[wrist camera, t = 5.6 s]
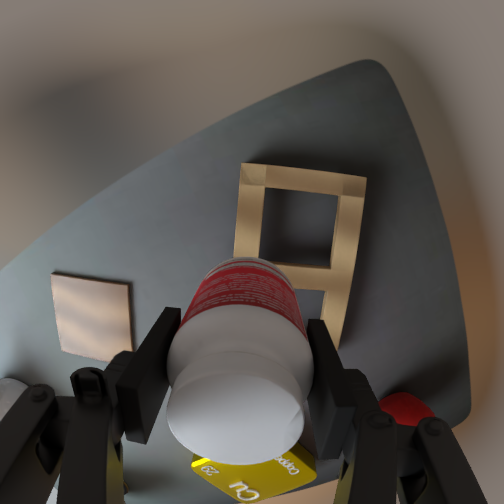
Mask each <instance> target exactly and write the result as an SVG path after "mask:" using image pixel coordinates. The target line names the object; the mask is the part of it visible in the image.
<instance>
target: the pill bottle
mask: <svg viewBox="0 0 504 504" xmlns="http://www.w3.org/2000/svg"><path fill="white" fill-rule="evenodd" d="M167 375H168V380H169V383H170V386H171V388H172V391H171V394H170V398H169V401H168V405H167V421H168V424H169V427H170V429H171V431H172V433H173V434H174V436H175V437H176V438H177V440H178V441H179V442H180V443H181V444H182V445H184V446H185V447H186V448H187V449H189V450H190V451H192V452H193V453H195V454H197V455H199V456H201V457H204V458H206V459H209V460H212V461H215V462H219V463H225V464H232V465H249V464H257V463H262V462H266V461H269V460H272V459H274V458H277V457H279V456H281V455H282V454H284V453H285V452H287V451H288V450H289V449H290V448H292V447H293V446H294V445H295V444H296V442H297V441H298V440H299V438H300V436H301V434H302V432H303V429H304V424H305V414H304V406H303V403H304V401H305V400H306V398H307V396H308V395H309V392H310V390H311V387H312V384H313V378H314V362H313V355H312V351H311V348H310V345H309V342H308V338H307V334H306V331H305V327H304V324H303V320H302V315H301V312H300V309H299V305H298V302H297V298H296V294H295V291H294V288H293V286H292V284H291V282H290V280H289V279H288V277H287V276H286V275H285V274H284V273H283V272H282V271H281V270H280V269H279V268H278V267H277V266H275V265H274V264H272V263H270V262H268V261H266V260H263V259H260V258H255V257H236V258H232V259H228V260H226V261H224V262H221V263H220V264H218V265H217V266H215V267H214V268H213V269H212V270H210V271H209V272H208V274H207V275H206V276H205V277H204V279H203V281H202V282H201V284H200V286H199V288H198V290H197V292H196V294H195V296H194V298H193V300H192V302H191V304H190V306H189V308H188V310H187V312H186V314H185V316H184V318H183V320H182V321H181V324H180V326H179V328H178V330H177V332H176V334H175V336H174V338H173V341H172V343H171V346H170V349H169V352H168V357H167Z"/></svg>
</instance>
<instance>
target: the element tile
mask: <svg viewBox="0 0 504 504" xmlns="http://www.w3.org/2000/svg"><path fill="white" fill-rule="evenodd" d="M191 468H192V470H193V471H194V472H195V473H197V474H198V475H200V476H201V477H203V478H204V479H205V480H207V481H208V482H210V483H211V484H213V485H214V486H216V487H217V488H219V489H220V490H222V491H223V492H225V493H227V494H228V495H230V496H231V497H233V498H234V499H236V500H238V501H240V502H242V503H246V504H249V503H255V502H258V501H261V500H264V499H267V498H270V497H273V496H276V495H278V494H281V493H284V492H287V491H289V490H292V489H295V488H297V487H300V486H302V485H305V484H307V483H309V482H311V481H313V480H314V479H316V477H317V473H316V467H315V461H314V457H313V456H312V454H311V453H309V452H308V451H307V450H306V449H305V448H304V447H303V446H301V445H300V444H299V443H298V442H296V444H295V445H294V446H293V447H292V448H290V449H289V450H288V451H287V452H285V453H284V454H282V455H281V456H279V457H277V458H274V459H272V460H269V461H266V462H262V463H257V464H249V465H232V464H225V463H219V462H215V461H212V460H209V459H206V458H204V457H201V456H199V455H197V454H195V453H194V454H193V458H192V463H191Z"/></svg>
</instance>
